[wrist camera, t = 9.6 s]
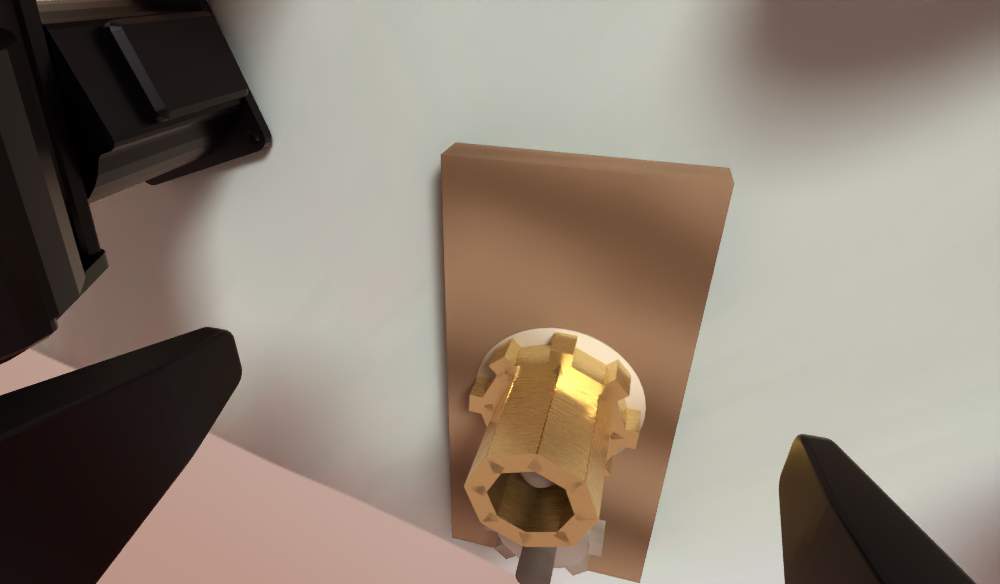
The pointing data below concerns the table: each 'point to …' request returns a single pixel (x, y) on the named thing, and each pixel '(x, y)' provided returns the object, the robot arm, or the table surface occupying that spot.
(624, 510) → the board
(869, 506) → the robot arm
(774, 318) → the table surface
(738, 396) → the table surface
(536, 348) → the brass gear
